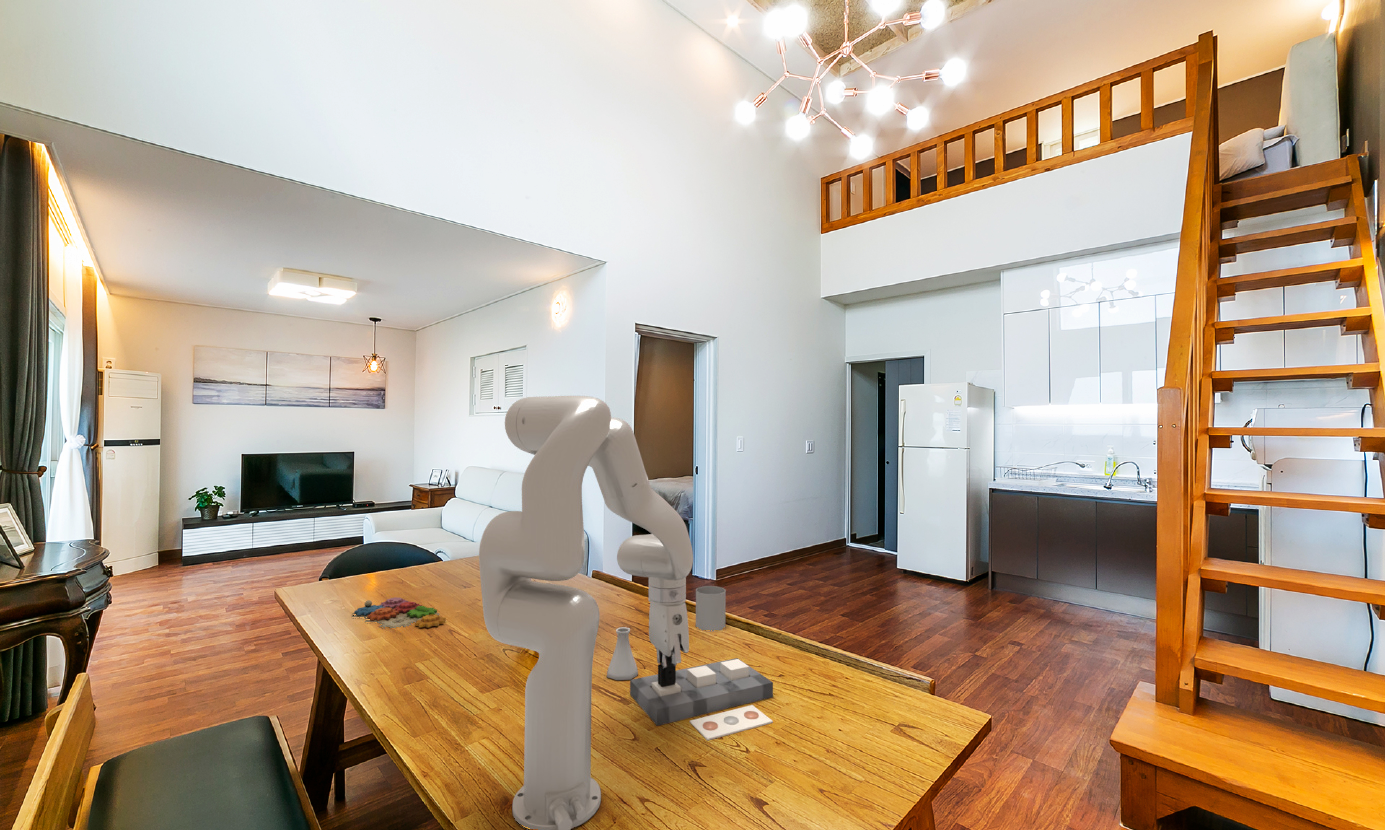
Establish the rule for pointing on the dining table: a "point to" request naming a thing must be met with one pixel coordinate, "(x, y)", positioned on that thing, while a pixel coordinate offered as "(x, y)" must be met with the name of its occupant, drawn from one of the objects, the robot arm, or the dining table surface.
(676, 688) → the button
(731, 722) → the pattern card
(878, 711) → the dining table surface
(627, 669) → the flask
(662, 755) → the dining table surface
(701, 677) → the button
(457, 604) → the dining table surface
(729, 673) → the button
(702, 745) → the dining table surface
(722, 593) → the cup
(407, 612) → the gear puzzle
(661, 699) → the button board
